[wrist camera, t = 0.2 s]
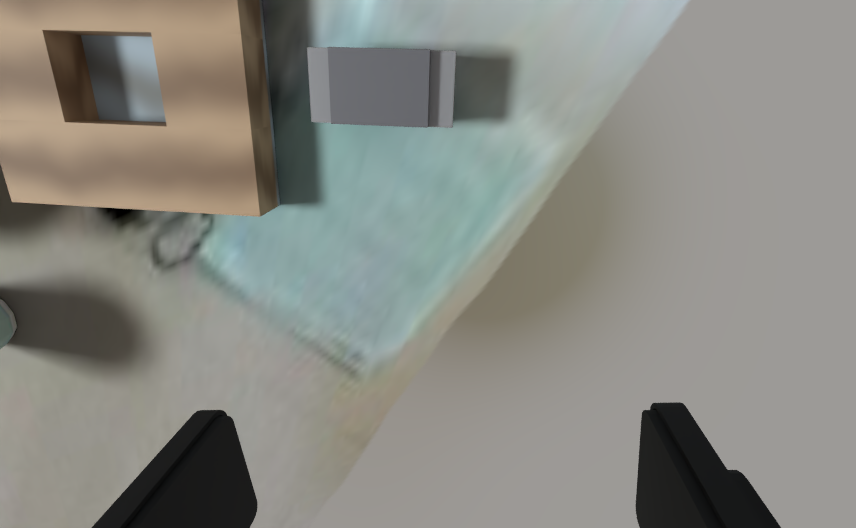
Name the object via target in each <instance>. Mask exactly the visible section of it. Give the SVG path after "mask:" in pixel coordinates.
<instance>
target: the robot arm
mask: <svg viewBox="0 0 856 528" xmlns="http://www.w3.org/2000/svg"><path fill="white" fill-rule="evenodd" d="M256 512H257V499H256V496H255V492H254V489H253V486H252V482H251V479H250V475H249V472H248V469H247V465H246V462H245V459H244V455H243V452H242V448H241V445H240V442H239V438H238V435H237V431H236V428H235V425H234V421H233V419H232V418H231V417H229V416H227V414H226V413H225V412H224V411H222V410H200V411H197V412H196V413H194V414H193V415H192V416H191V418H190V419H189V420H188V421H187V422H186V423H185V424H184V425H183V426H182V428H181V429H180V430H179V431H178V432H177V433H176V434H175V435H174V436H173V438H172V439H171V440H170V441H169V442H168V443H167V444H166V445H165V447H164V448H163V449H162V450H161V451H160V452H159V453H158V454H157V455H156V457H155V458H154V459H153V460H152V461H151V462H150V463H149V464H148V465H147V467H146V468H145V469H144V470H143V471H142V472H141V473H140V474H139V476H138V477H137V478H136V479H135V480H134V481H133V482H132V483H131V484H130V486H129V487H128V488H127V489H126V490H125V491H124V492H123V493H122V494H121V496H120V497H119V498H118V499H117V500H116V501H115V502H114V503H113V504H112V506H111V507H110V508H109V509H108V510H107V511H106V512H105V513H104V515H103V516H102V517H101V518H100V519H99V520H98V521H97V522H96V523H95V525H94V526H93V527H92V528H250V526H251V524H252V522H253V520H254V518H255V516H256ZM636 514H637V520H638V523H639V526H640V528H781V527H780V526H779V524H778V523H777V522H776V520H775V518H774V517H773V516H772V514H771V513H770V511H769V510H768V508H767V507H766V505H765V504H764V503H763V501H762V500H761V498H760V497H759V496H758V494H757V493H756V491H755V490H754V488H753V487H752V485H751V484H750V482H749V481H748V480H747V478H745V476H744V475H743V474H742V473H741V472H739V471H737V470H727V469H726V467H725V466H724V464H723V463H722V461H721V460H720V458H719V457H718V455H717V453H716V452H715V450H714V449H713V447H712V446H711V444H710V443H709V441H708V440H707V438H706V437H705V435H704V434H703V432H702V431H701V429H700V428H699V426H698V425H697V423H696V421H695V420H694V418H693V417H692V415H691V414H690V412H689V411H688V409H687V408H686V406H685V405H684V404H683V403H653V404H652V405H651V409H650V410H644V411H643V412H642V420H641V435H640V450H639V464H638V480H637V495H636Z"/></svg>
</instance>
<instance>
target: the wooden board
mask: <svg viewBox="0 0 856 528" xmlns="http://www.w3.org/2000/svg"><path fill="white" fill-rule="evenodd" d="M0 164H1V168H2V171H3V174H4V177H5V181H6V184H7V187H8V191H9V194H10V197H11V201H12V202H21V203H38V204H55V205H72V206H89V207H106V208H123V209H140V210H157V211H174V212H191V213H208V214H225V215H242V216H259V217H260V216H262V215H264V214H265V213H267V212H269V211H271V210H272V209H274V208H276V207H278V206H279V205H280V197H279V185H278V174H277V163H276V151H275V140H274V129H273V117H272V106H271V95H270V83H269V72H268V61H267V49H266V38H265V27H264V15H263V4H262V0H0Z"/></svg>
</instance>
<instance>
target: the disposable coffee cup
mask: <svg viewBox="0 0 856 528" xmlns="http://www.w3.org/2000/svg"><path fill="white" fill-rule="evenodd" d="M16 328H17V325H16V320H15V316H14V313H13V312H12V311H11V309H10V308H9V307H8V306H7V304H6V303H5V302H4V301H3V300H2V299H0V349H1V348H2V347H4V346H5V345H6V344H7V343H8V342H9V340H10V339H11V338H12V337H13V335H14V333H15V330H16Z"/></svg>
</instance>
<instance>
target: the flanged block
mask: <svg viewBox="0 0 856 528" xmlns="http://www.w3.org/2000/svg"><path fill="white" fill-rule="evenodd" d="M307 56H308V73H309V90H310V107H311V122H323V123H331V124H353V125H379V126H404V127H449V128H452V127H453V113H454V92H455V71H456V51H436V50H428V49H388V48H348V47H328V48H316V47H307Z"/></svg>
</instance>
